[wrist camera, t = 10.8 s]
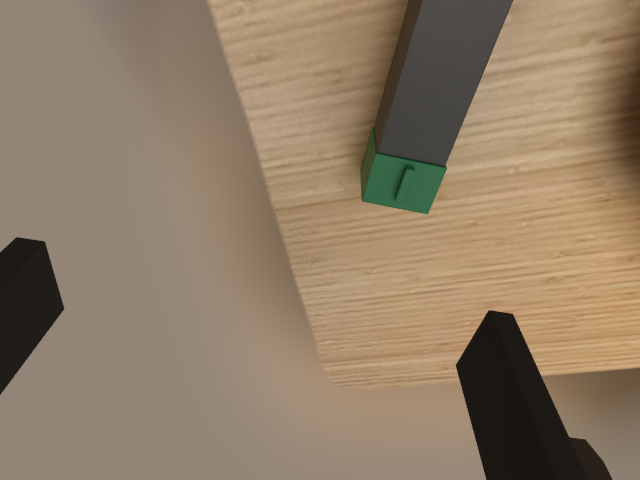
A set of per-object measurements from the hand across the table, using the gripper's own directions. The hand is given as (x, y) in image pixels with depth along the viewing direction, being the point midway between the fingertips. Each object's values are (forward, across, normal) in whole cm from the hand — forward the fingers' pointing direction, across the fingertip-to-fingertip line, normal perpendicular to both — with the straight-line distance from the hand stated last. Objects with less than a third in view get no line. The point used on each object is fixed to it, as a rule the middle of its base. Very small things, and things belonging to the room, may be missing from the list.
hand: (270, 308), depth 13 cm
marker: (+19, +7, +3) cm, 21 cm away
